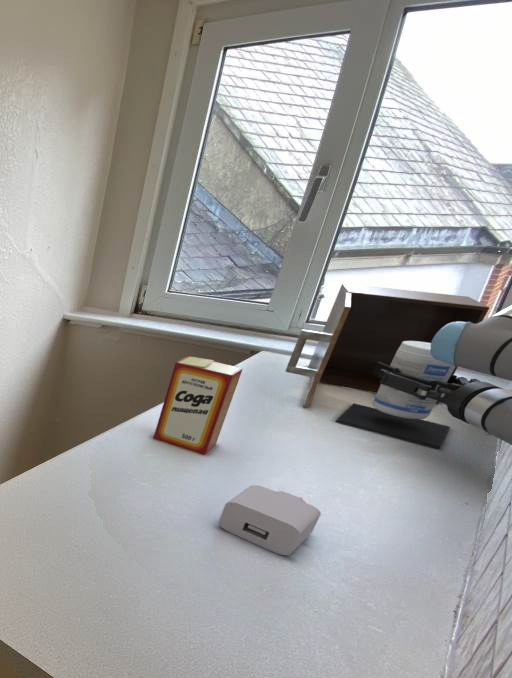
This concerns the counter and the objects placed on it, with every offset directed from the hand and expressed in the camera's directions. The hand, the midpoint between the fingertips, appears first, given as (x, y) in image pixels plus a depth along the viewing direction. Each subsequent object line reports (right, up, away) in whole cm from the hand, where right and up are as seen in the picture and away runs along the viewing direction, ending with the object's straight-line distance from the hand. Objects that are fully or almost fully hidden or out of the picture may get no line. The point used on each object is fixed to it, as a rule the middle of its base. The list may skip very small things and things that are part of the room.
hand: (402, 370), depth 119 cm
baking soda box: (-54, -16, -12) cm, 58 cm away
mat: (-1, -12, +1) cm, 12 cm away
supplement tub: (-1, -9, 0) cm, 9 cm away
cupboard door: (-8, -2, +20) cm, 21 cm away
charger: (-56, -29, -38) cm, 74 cm away
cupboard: (+18, +1, +28) cm, 34 cm away
